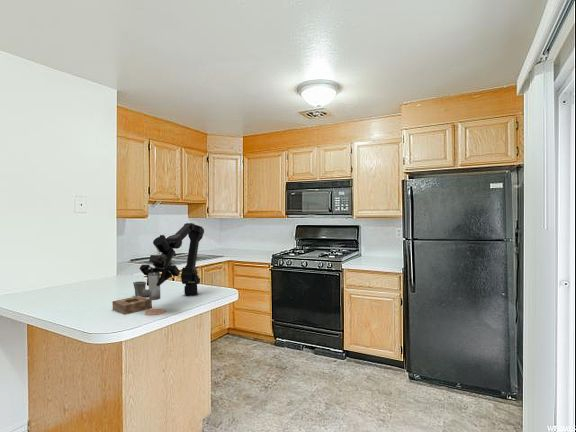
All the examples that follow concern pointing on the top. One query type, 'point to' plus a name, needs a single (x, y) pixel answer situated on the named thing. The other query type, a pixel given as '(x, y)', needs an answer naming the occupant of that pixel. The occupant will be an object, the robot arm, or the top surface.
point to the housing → (132, 304)
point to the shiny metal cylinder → (154, 285)
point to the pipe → (140, 289)
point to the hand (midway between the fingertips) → (152, 285)
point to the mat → (155, 311)
